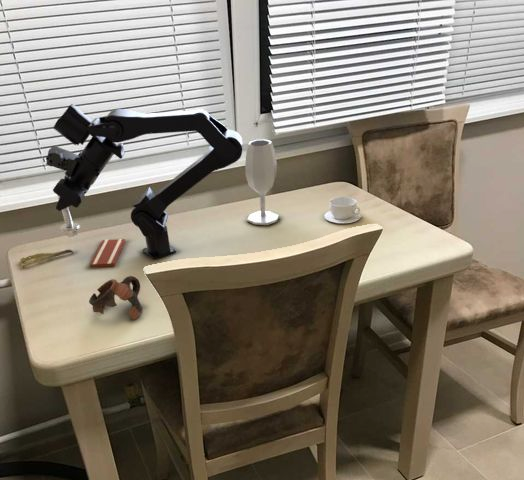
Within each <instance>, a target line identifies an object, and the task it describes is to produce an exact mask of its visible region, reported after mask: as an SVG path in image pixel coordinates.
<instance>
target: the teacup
mask: <svg viewBox="0 0 524 480" xmlns="http://www.w3.org/2000/svg"><path fill="white" fill-rule="evenodd" d="M357 203H358V201H357V199H355V198H353V197H351V196H335V197H333V198H331V199H329V211H327V212H326V213H324V216H323V217H324V219H325V220H326V221H328V222H331V223H335V224H351V223H354V222H357V221H359V220H360V219H361V213H360V212H361V207H360V206H358V205H357ZM356 210H358V211H356Z"/></svg>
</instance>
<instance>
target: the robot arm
mask: <svg viewBox="0 0 524 480" xmlns="http://www.w3.org/2000/svg"><path fill="white" fill-rule="evenodd" d="M52 129H53V130H55V132H57V133H59V134H60V135H61V136H62V137H64V138H65V139H66V140H68V141H69V142H70V143H72V144H73V145H74V146H79V145H81V146H83V145H84V144H85V143H86V141H87V140H88V139H89V137H90V136H91V138H90V139H89V141H88V142H87V144H86V145H85V146H84V148H83V150H82V151H80V152H79V153H78V154H77V153H74V152H72V151H70V150H67V149H64V148H63V147H60V146H57V145H53V146H51V147H50V148H49V149H48V151H47V156H46V157H45V160H46V162H45V163H46V165H47V166H48V167H53V168H55V169H59V170H62V171H65V172H64V178H60V179H59V180H58V181H57V183H56V184H55V186H54V187H53V188H52V192H53V193H54V194H55V195H57V197H58V196H60V198H59V199H58V201H57V203H56V206H55V209H56V210H57V211H59V212H62V211H61V210H63V209H65V208H67V207H71V206H72V207H73V208H76V209H77V208H78V207H79V206H80V205H81V203H82V202H83V201H84V199H85V198H86V194H87V193H88V191H89V190H90V189H91V187H92V185H94V183H95V182H96V181H97V180H98V177H99V176H100V174H102V171H103V170H104V169H105V167H106V166H107V164H108V163H109V162H110V160H111V159H112V158H113V156H114V155H115V156H116V157H117V158H118V159H120V160H122V159H123V158H124V156H125V154H126V152H125V150H124V143H123V142H126V141H127V142H128V141H129V140H131V141H132V140H134V139H136V138H139V137H141V136H146V135H154V134H155V135H157V134H170V133H187V132H197V133H198V134H199V135H200V136H201V137H202V138H203V139H204V140H205V141H206V143H208V144H209V147H208V148H207V150H206V152H204V154H203V155H202V156H200V157H199V158H198V159H196V160H195V161H194V162H193V163H191V164H190V165H188V166H187V167H186V168H185V169H184V170H182V171H181V172H180V173H179V174H178V175H176V176H175V177H173V178H172V179H171V180H170V181H168V182H167V183H166V184H165V185H163V186H162V187H161V188H159V189H157V190H154V191H153V190H152V189H151V187H148V188H146V189H145V191H143V193H141V194H138V195H137V196H136V198H135V201H134V202H133V205H132V207H133V208H132V210H131V212H130V219H131V222H132V224H133V225H134V226H136V227H137V228H138V229H139V230H140V232H141V234H142V236H143V237H144V239H145V245H146V247H145V248H142V250H141V251H142V252H143V253H145V255H147V256H148V257H150V258H152V259H154V260H155V259H159V258H162V257H165V256H167V255H170V254H173V253H177V249H176V248H175V247H173V246H171V245H170V244H171V243H170V239H169V238H170V237H169V231H168V226H167V225H166V224H167V222H168V217H169V214H168V213H167V212H166V209H167V208H168V207H169V206H170V205H171V204H173V203H174V202H175V201H176V200H178V199H179V198H180V197H182V196H183V195H184V194H186V193H187V192H188V191H190V190H191V189H192V188H194V187H195V186H197V184H199V183H200V182H201V181H202V180H204V179H205V178H206V177H208V176H209V175H210V174H212V173H213V172H216V171H219V170H222V169H225V168H227V167H228V166H231V165H232V164H235V163H237V162H238V161H239V160H240V159H241V157H242V154H243V138H242V136H241V134H240V133H238V132H237V131H236V130H233V129H229V128H228V127H226V126H225V125H224V124H223V123H222V122H220V121H219V120H217V119H216V118H214V117H213V116H212V115H211V114H210V113H209V112H208V111H206V109H203V108H198V109H195V110H182V111H181V110H180V111H164V112H151V113H149V112H148V113H145V112H139V111H135V110H130V109H123V108H122V109H121V108H116V109H112V110H110V112H109V113H108V114H107V115H104V116H100V117H96V118H94V119H93V120H92V119H91V118H90V117H88V116H87V115H85V113H83V112H82V111H81V110H80V109H79V108H78V107H77V106H76V105H75V104H74V103H70V105H69V106H68V107H67V108H66V109H65V111H64V112H63V113H62V115H60V116H59V118H58V119H57V120H56V122H55V124H54V125H53V128H52Z"/></svg>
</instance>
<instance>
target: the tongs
mask: <svg viewBox="0 0 524 480" xmlns="http://www.w3.org/2000/svg"><path fill="white" fill-rule="evenodd" d="M69 253H71V254H74V251H73V250H72V249H65V250H61V251H57V252H39V253H35V254H31V255H28V256H26V257H22V258H20V259H19V260H20V261H19V264H20V266H21V267H22V268H26V267H28V266H31V265H35V264H37V263H43V262H44V261H46V260H49V259H52V258H57V257H59V256H62V255H66V254H69ZM25 262H27V263H25Z"/></svg>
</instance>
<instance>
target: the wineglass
mask: <svg viewBox="0 0 524 480" xmlns="http://www.w3.org/2000/svg"><path fill="white" fill-rule="evenodd" d="M244 165H245V166H244V168H245V169H244V172H245V179H246V181H247V184H248V187H249V188H251V189H252V190H253V191H254V192H256V193H257V194H258V195H259V207H260V209H259V210H258V211H255V212H253V213H250V214H249V216H248V217H247V219H246V221H247V222H249V223H251V224H253V225H255V226H269V225H272V224H275V223H277V222H278V221H279V218H280V214H278V213H276V212H274V211H268V210H267V211H266V194H267V193H268V192H269V191H270V190H271V189H272V188H273V186H274V185H275V183H276V179H277V174H278V162H277V156H276V149H275V147H274V144H273V141H271V140H269V139H254V140H251V141H249V143H248V144H247V149H246V153H245V163H244Z"/></svg>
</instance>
